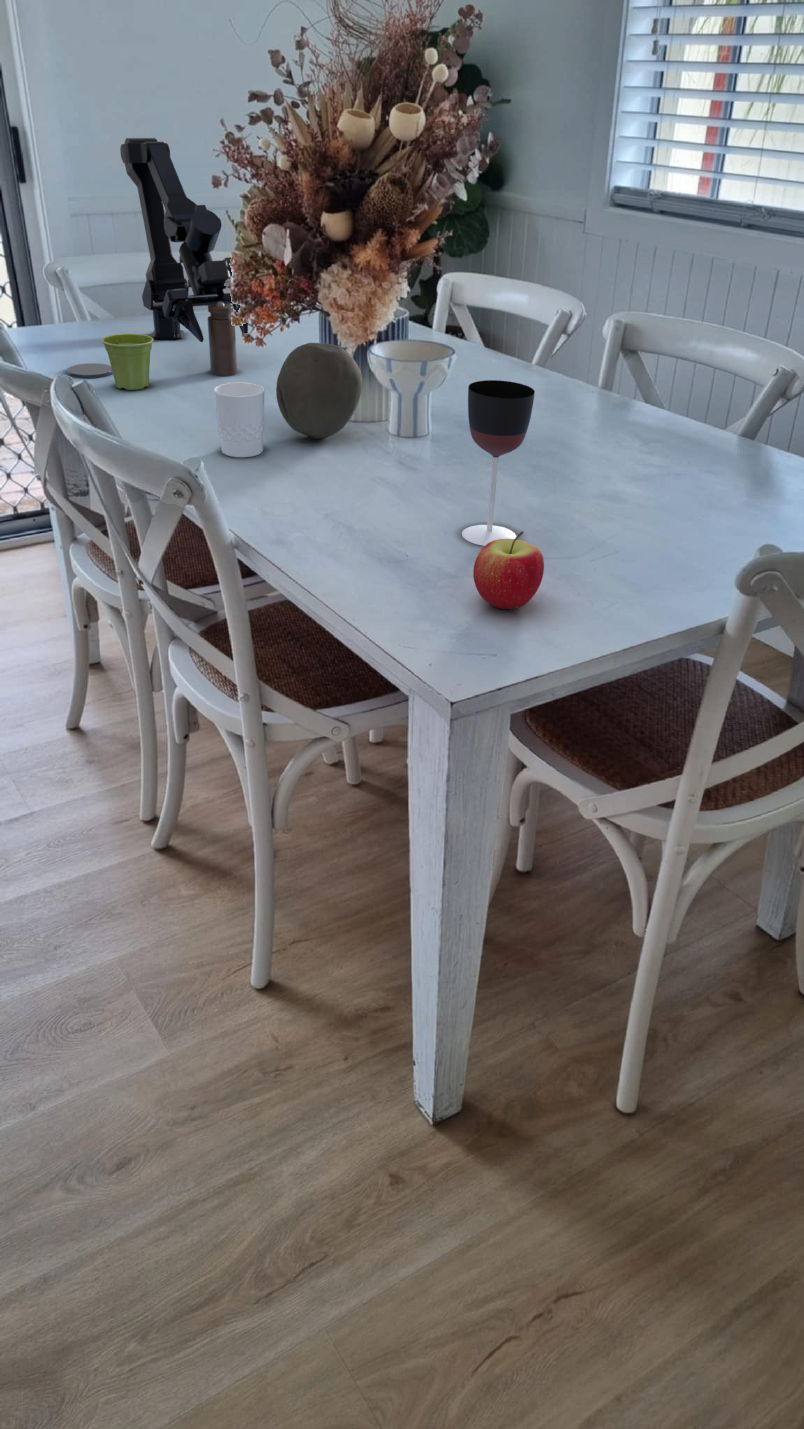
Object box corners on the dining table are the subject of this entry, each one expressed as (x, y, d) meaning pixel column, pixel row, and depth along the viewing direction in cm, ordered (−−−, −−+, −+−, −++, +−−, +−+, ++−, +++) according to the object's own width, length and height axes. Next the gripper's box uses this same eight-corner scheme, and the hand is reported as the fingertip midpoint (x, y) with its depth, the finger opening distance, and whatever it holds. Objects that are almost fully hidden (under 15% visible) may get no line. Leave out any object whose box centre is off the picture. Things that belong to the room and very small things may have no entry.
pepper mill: (211, 369, 214) (206, 298, 206) (237, 369, 214) (233, 298, 207) (210, 376, 209) (205, 304, 202) (237, 376, 210) (233, 304, 203)
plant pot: (102, 381, 203) (96, 335, 199) (151, 377, 207) (146, 331, 202) (112, 395, 196) (107, 346, 192) (163, 390, 200) (159, 343, 195)
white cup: (257, 461, 168) (255, 398, 163) (210, 456, 170) (206, 393, 164) (272, 445, 175) (270, 384, 170) (227, 441, 176) (223, 380, 171)
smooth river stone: (352, 451, 174) (353, 358, 166) (268, 444, 175) (265, 351, 167) (368, 426, 186) (369, 337, 177) (289, 419, 187) (287, 331, 179)
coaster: (70, 366, 212) (70, 363, 212) (115, 366, 213) (115, 363, 213) (64, 378, 205) (63, 375, 204) (110, 378, 206) (110, 375, 205)
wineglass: (480, 519, 151) (491, 376, 140) (531, 535, 146) (547, 390, 136) (446, 534, 146) (455, 388, 135) (498, 552, 141) (511, 402, 130)
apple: (501, 626, 123) (509, 546, 118) (456, 598, 129) (461, 521, 124) (554, 609, 128) (563, 531, 122) (508, 583, 133) (515, 507, 128)
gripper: (161, 244, 198) (187, 318, 196) (254, 239, 206) (279, 310, 204) (151, 281, 208) (175, 352, 206) (240, 275, 216) (264, 343, 214)
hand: (224, 338), depth 207 cm, fingers open, 9 cm apart
